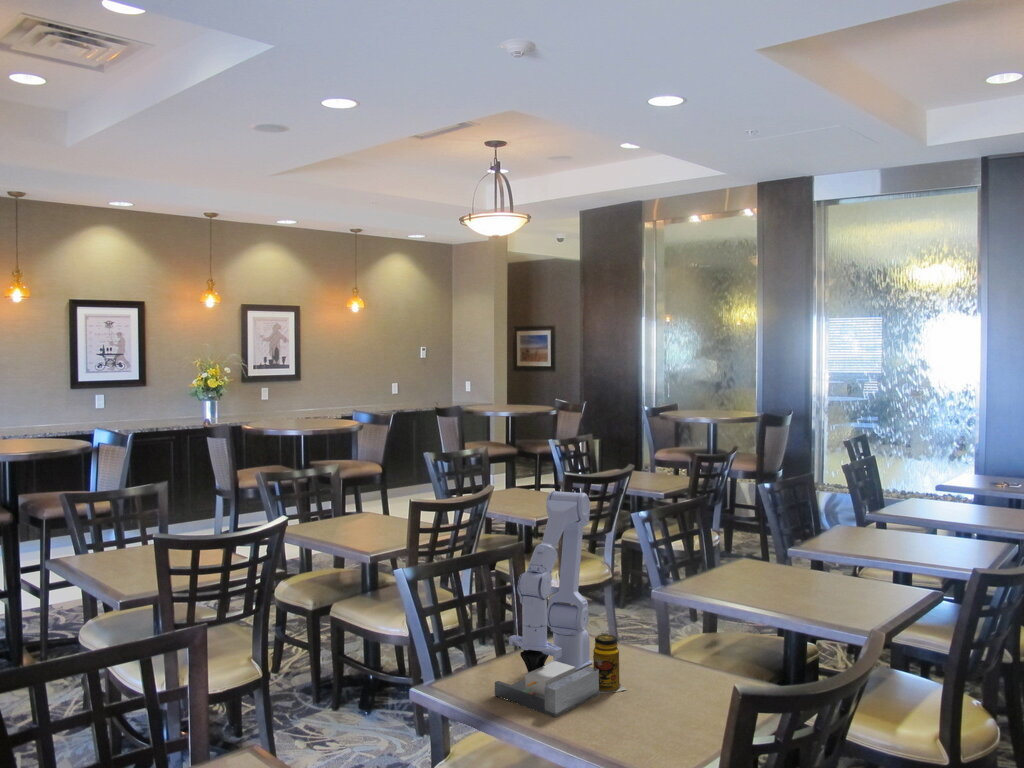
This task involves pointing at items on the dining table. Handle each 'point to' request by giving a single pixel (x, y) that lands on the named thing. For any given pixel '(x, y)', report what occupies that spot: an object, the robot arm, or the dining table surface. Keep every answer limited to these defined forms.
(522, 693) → the gauge frame
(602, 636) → the condiment
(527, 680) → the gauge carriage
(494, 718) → the dining table surface
